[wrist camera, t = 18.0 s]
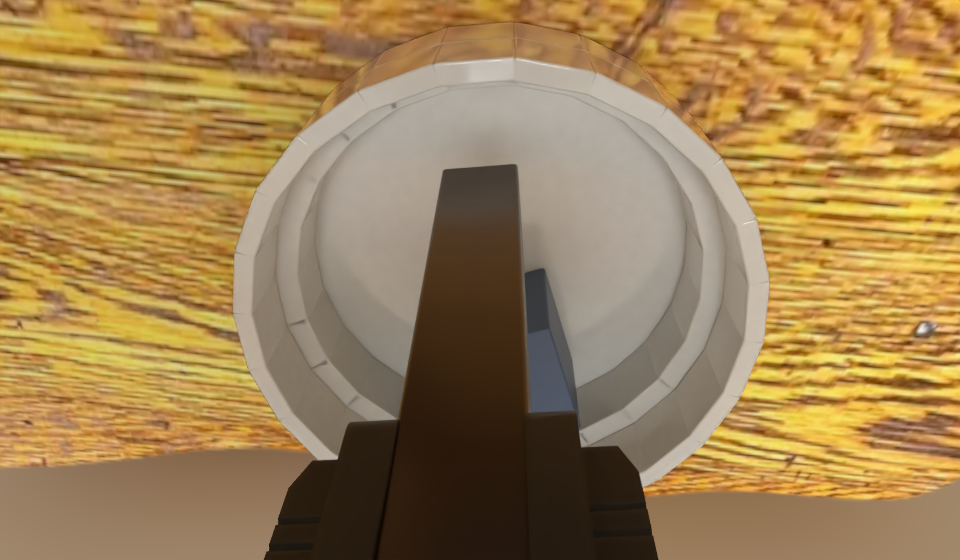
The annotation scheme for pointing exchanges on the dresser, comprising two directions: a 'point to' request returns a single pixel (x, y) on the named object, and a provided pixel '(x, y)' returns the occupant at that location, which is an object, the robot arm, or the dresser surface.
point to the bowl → (546, 238)
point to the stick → (465, 384)
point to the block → (548, 350)
